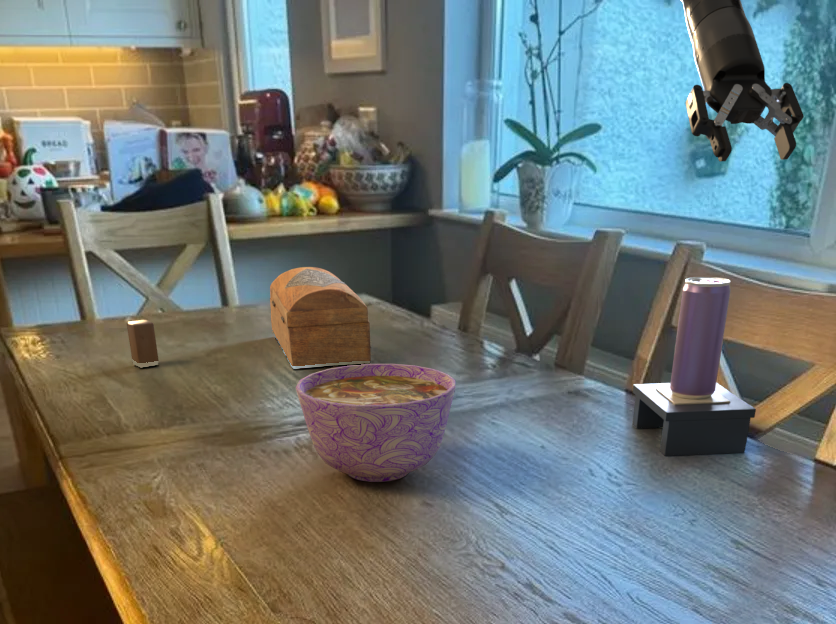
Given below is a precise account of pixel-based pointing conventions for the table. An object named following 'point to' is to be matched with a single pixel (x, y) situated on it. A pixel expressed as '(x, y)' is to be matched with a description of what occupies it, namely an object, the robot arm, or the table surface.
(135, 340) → the wooden block
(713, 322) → the beverage can
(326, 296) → the wooden box
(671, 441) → the dark footstool
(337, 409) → the bowl of food
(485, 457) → the table surface
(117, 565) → the table surface
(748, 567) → the table surface
